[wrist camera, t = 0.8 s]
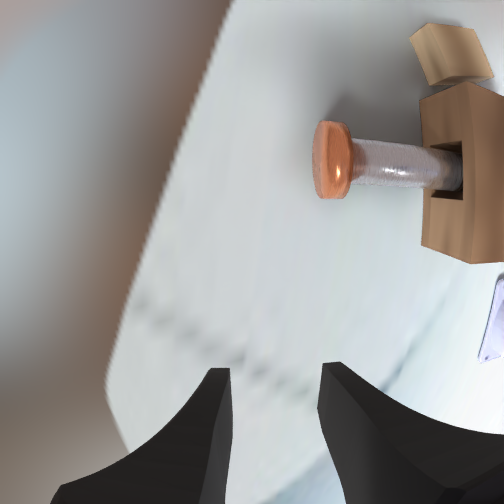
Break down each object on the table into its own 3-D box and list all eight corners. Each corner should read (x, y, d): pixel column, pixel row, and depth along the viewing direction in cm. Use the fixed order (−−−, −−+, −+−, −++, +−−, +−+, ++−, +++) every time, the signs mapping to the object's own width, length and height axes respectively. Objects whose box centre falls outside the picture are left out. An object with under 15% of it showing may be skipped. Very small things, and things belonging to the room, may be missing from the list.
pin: (468, 149, 16) (506, 146, 13) (469, 204, 17) (506, 210, 13) (311, 128, 16) (331, 112, 12) (312, 197, 17) (333, 200, 13)
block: (452, 41, 15) (473, 29, 12) (470, 85, 16) (494, 77, 13) (407, 38, 15) (427, 22, 13) (427, 86, 16) (451, 75, 13)
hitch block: (477, 116, 16) (525, 107, 11) (478, 244, 18) (526, 260, 13) (419, 100, 16) (466, 81, 11) (421, 245, 18) (470, 264, 13)
